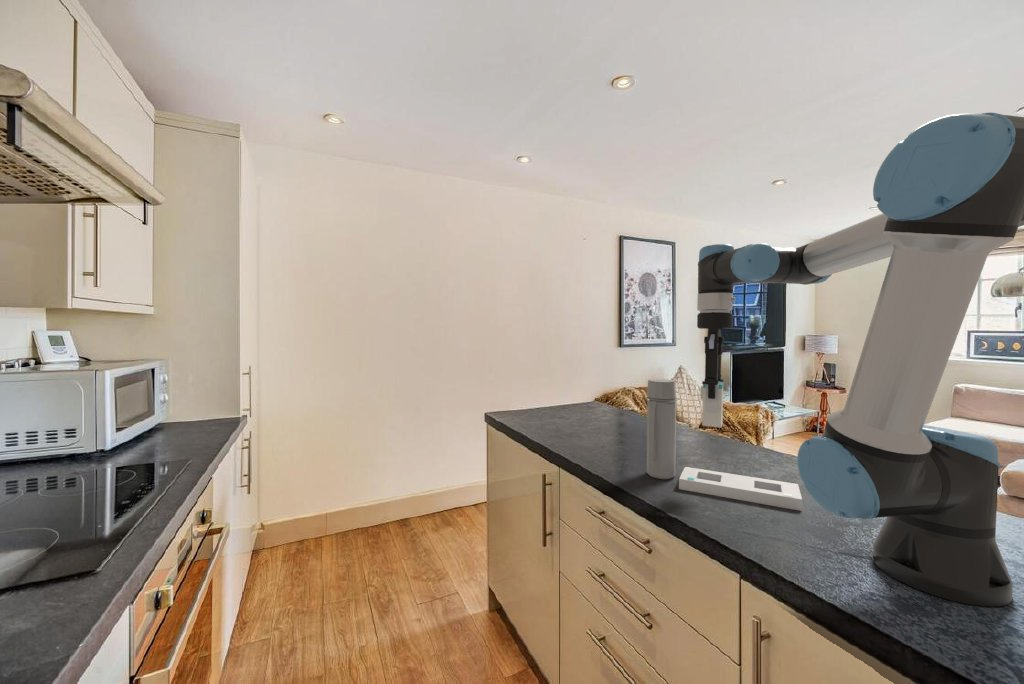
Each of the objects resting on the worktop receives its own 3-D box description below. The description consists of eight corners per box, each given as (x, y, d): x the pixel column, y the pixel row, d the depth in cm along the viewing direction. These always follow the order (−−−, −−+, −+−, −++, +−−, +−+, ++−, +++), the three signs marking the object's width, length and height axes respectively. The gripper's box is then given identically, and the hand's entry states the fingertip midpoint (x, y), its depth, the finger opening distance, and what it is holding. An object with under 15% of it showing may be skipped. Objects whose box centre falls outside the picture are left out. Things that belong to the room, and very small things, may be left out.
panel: (801, 513, 87) (802, 498, 87) (678, 491, 99) (679, 478, 99) (797, 497, 96) (797, 483, 96) (684, 478, 108) (685, 466, 108)
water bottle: (653, 468, 115) (654, 378, 114) (681, 475, 109) (682, 380, 109) (636, 477, 108) (637, 380, 108) (665, 485, 103) (666, 383, 102)
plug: (720, 427, 97) (722, 384, 97) (699, 425, 100) (700, 383, 99) (722, 424, 101) (723, 382, 100) (701, 421, 103) (702, 381, 103)
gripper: (730, 310, 90) (727, 419, 91) (734, 312, 104) (732, 406, 105) (692, 311, 93) (690, 415, 94) (702, 313, 108) (700, 403, 109)
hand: (712, 410), depth 100 cm, fingers closed on plug, 4 cm apart
